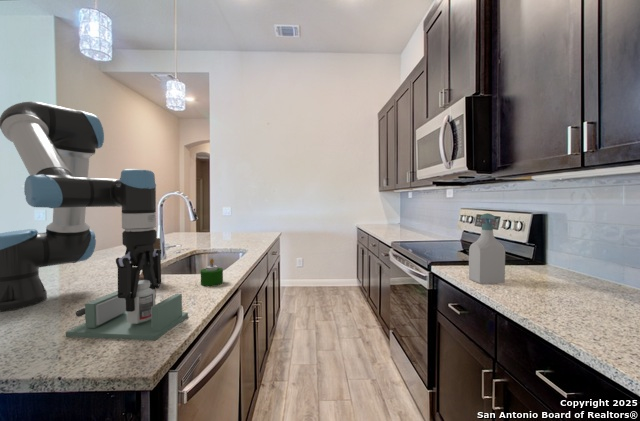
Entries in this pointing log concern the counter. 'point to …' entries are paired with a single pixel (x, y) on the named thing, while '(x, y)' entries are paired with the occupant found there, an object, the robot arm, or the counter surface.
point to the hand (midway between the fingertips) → (142, 317)
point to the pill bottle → (145, 300)
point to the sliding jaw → (102, 309)
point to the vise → (118, 328)
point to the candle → (211, 275)
